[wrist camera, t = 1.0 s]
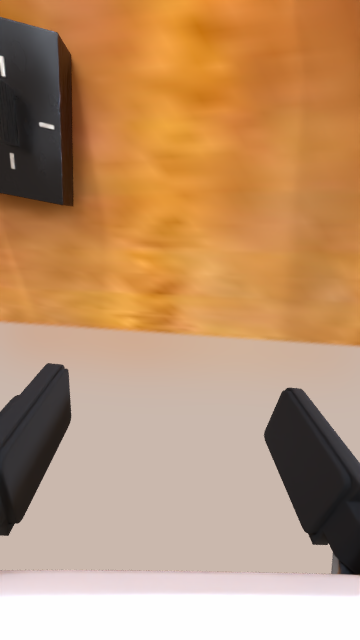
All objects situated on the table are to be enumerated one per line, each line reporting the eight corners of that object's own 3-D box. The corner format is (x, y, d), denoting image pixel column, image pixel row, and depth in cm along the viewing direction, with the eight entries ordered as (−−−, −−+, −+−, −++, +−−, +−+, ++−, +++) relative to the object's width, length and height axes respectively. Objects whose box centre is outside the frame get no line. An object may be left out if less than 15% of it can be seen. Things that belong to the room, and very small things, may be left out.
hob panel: (-36, 26, 22) (-68, -4, 19) (71, 55, 23) (56, 30, 20) (-11, 190, 27) (-33, 186, 24) (73, 206, 28) (62, 205, 25)
